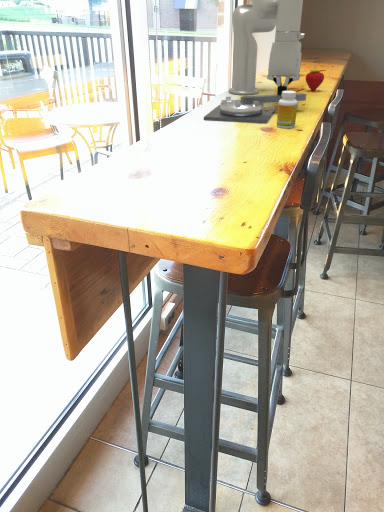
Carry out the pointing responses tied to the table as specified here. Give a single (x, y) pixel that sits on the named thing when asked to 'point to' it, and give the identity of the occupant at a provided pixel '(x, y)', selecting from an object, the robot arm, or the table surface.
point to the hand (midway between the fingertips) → (281, 98)
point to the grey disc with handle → (251, 104)
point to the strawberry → (314, 79)
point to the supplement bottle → (287, 110)
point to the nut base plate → (260, 118)
